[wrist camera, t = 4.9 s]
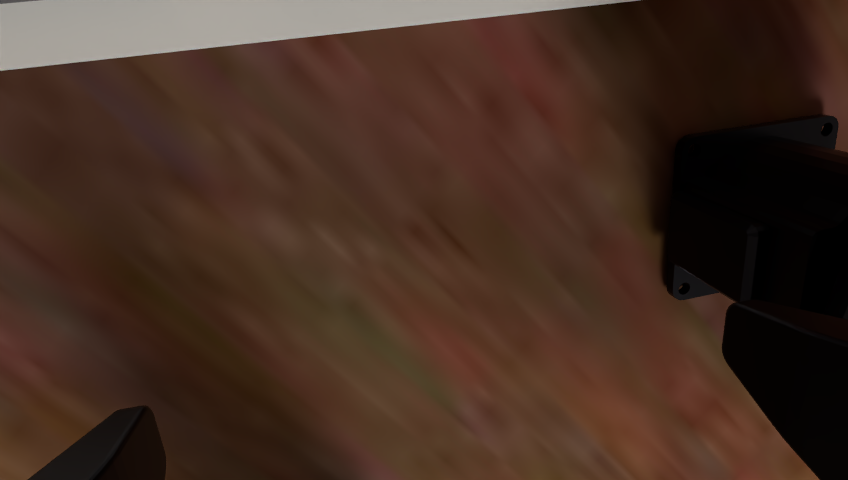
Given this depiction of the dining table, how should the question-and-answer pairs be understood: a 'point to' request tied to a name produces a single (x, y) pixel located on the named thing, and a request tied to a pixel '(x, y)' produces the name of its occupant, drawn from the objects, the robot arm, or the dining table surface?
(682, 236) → the robot arm
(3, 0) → the outer rocker
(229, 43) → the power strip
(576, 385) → the dining table surface
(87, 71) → the dining table surface
